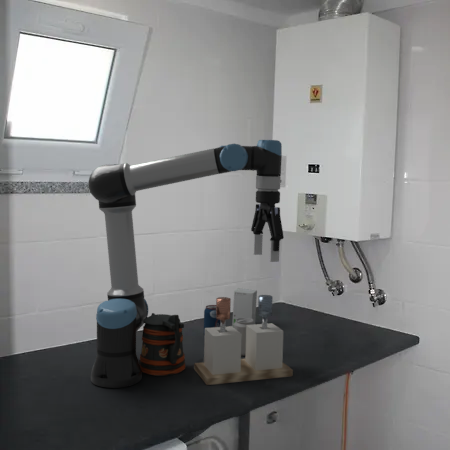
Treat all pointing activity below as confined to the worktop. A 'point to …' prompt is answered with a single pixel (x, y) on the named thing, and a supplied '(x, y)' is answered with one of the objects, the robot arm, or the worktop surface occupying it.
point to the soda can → (210, 317)
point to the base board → (241, 374)
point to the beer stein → (162, 345)
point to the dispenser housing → (231, 348)
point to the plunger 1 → (223, 311)
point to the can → (243, 331)
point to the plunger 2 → (265, 308)
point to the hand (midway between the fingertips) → (265, 258)
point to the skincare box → (244, 304)
